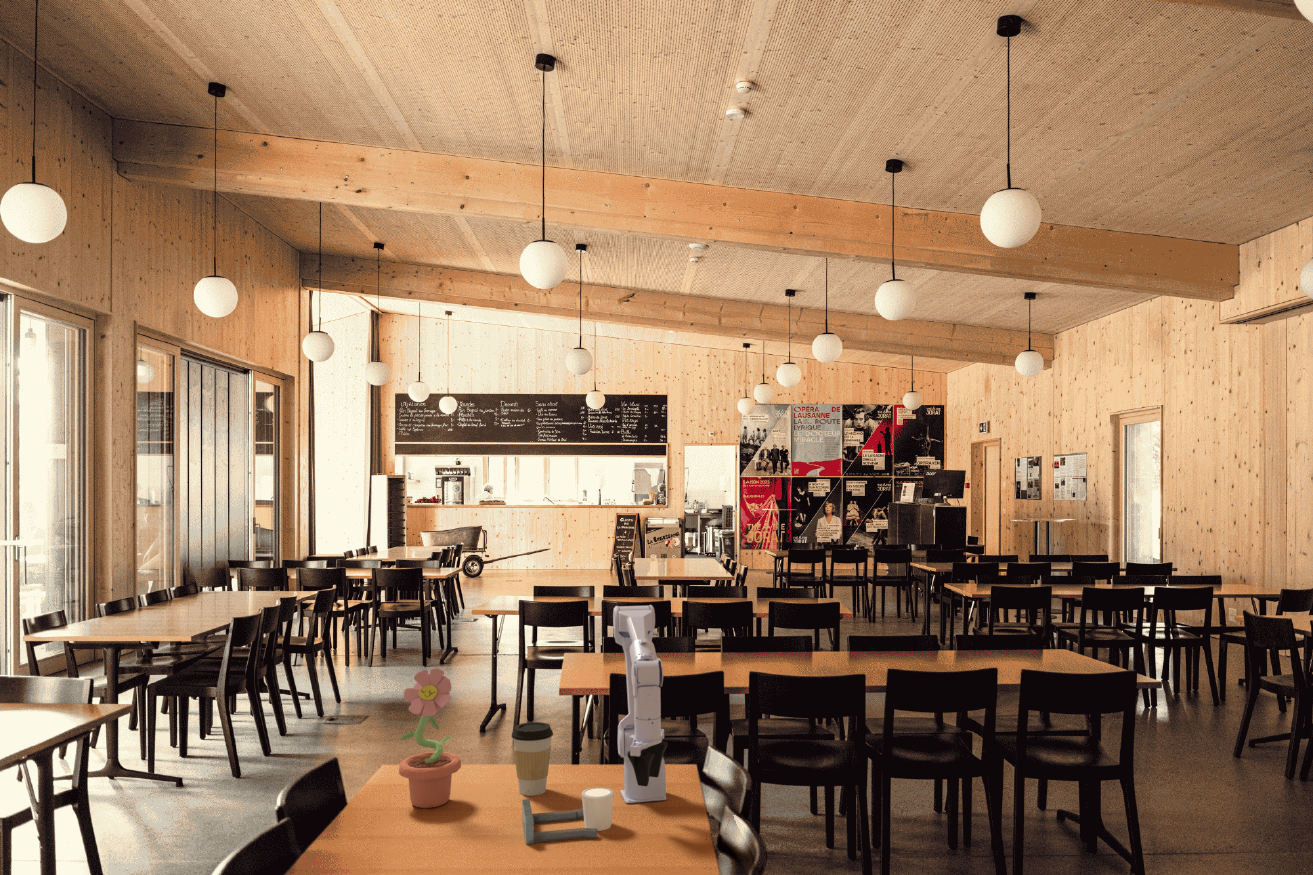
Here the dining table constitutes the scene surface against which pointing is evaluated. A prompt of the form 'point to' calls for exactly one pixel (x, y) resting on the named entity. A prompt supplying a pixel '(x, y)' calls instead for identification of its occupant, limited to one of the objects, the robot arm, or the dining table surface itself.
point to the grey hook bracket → (554, 835)
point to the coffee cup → (532, 756)
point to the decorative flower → (429, 743)
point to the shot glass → (597, 807)
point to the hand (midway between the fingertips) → (648, 780)
